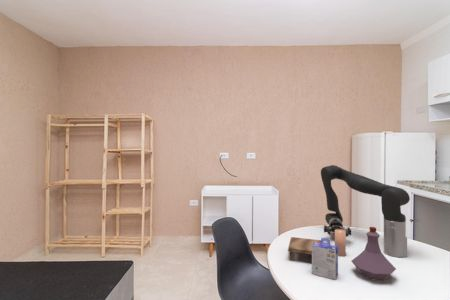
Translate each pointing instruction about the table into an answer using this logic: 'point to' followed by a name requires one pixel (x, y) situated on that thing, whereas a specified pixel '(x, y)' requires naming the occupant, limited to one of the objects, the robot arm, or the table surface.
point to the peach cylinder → (340, 241)
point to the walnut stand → (300, 246)
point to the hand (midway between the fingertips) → (338, 234)
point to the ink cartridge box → (325, 259)
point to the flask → (373, 259)
